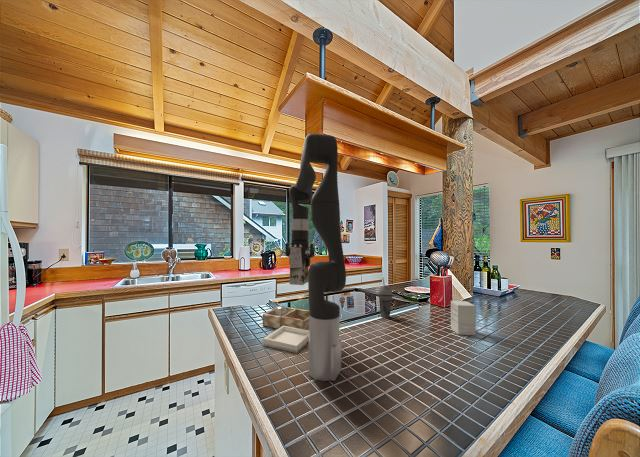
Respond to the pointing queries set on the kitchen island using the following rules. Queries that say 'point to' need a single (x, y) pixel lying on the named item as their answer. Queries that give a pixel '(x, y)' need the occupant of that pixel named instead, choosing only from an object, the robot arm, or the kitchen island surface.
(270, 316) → the wooden holder
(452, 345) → the kitchen island surface
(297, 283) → the coffee box
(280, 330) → the plastic tray
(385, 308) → the beverage cup
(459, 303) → the supplement box
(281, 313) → the metal tin
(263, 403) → the kitchen island surface
